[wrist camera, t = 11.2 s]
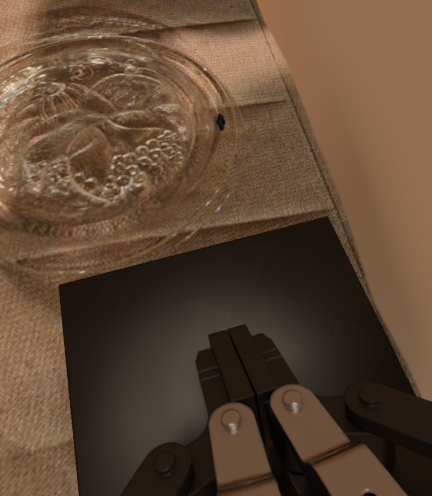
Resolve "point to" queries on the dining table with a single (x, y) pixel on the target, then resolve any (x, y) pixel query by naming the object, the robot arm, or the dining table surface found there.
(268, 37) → the dining table surface
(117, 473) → the black square slab
